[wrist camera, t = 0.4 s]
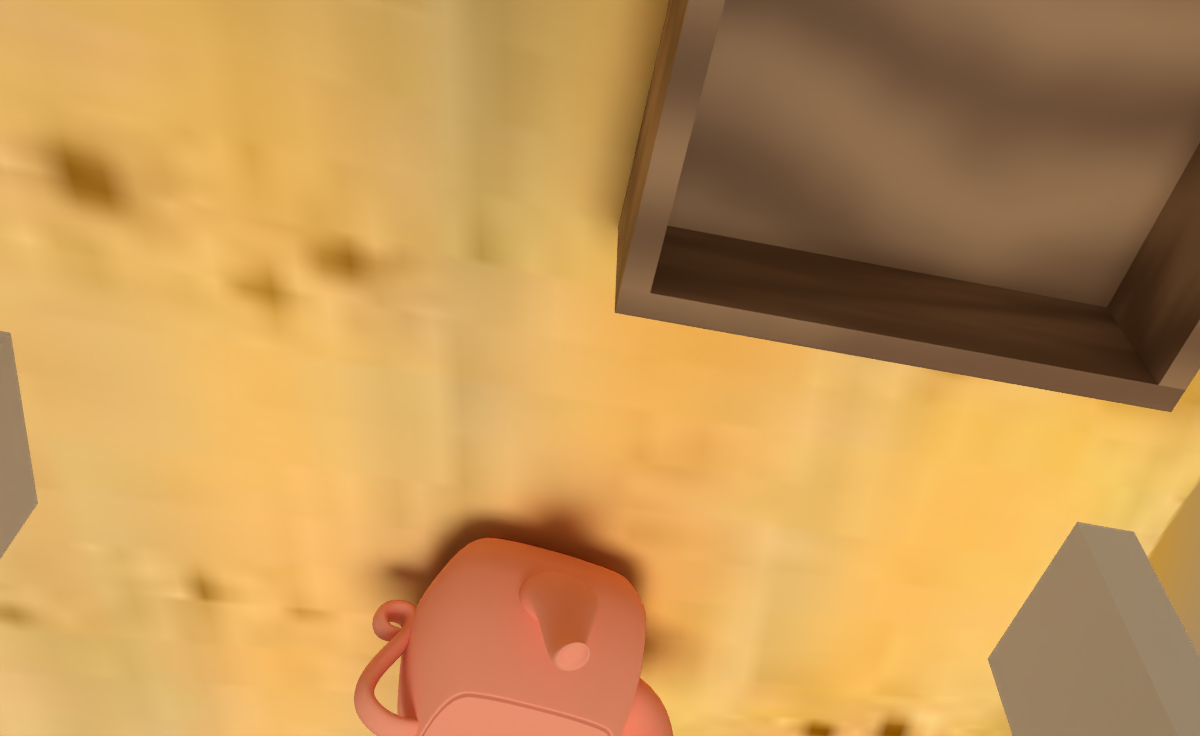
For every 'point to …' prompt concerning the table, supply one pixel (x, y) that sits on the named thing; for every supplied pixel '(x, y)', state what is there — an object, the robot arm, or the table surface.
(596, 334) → the table surface
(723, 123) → the crate
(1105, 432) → the table surface
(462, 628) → the teapot
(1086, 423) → the table surface
